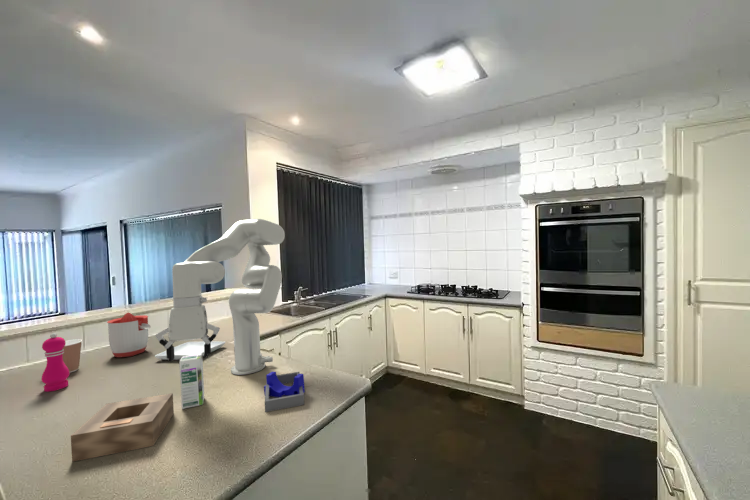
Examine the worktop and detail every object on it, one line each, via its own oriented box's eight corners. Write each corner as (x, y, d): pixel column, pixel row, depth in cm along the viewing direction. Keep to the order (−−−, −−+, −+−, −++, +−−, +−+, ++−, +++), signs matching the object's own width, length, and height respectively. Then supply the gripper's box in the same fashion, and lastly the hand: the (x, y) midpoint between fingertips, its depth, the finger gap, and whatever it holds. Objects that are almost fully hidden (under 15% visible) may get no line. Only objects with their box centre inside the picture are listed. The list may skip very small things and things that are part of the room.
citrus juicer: (137, 358, 145) (135, 315, 145) (99, 360, 145) (97, 316, 145) (160, 347, 161) (158, 308, 161) (127, 349, 161) (124, 309, 161)
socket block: (173, 413, 93) (172, 392, 93) (153, 445, 77) (152, 420, 77) (107, 425, 88) (106, 402, 88) (72, 461, 73) (70, 434, 73)
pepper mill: (38, 394, 111) (34, 337, 111) (47, 386, 117) (44, 332, 117) (65, 389, 114) (62, 333, 114) (73, 382, 121) (70, 329, 120)
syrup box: (181, 409, 95) (178, 361, 95) (184, 401, 100) (181, 355, 100) (202, 405, 97) (200, 357, 97) (204, 397, 102) (202, 352, 102)
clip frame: (299, 380, 112) (299, 371, 112) (304, 404, 94) (303, 394, 94) (267, 385, 109) (266, 376, 109) (265, 412, 91) (264, 401, 91)
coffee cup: (44, 374, 130) (42, 345, 130) (75, 365, 139) (74, 338, 139) (57, 377, 126) (56, 347, 126) (89, 368, 136) (87, 340, 135)
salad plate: (188, 347, 160) (187, 340, 160) (226, 347, 157) (226, 340, 157) (153, 363, 139) (152, 355, 139) (197, 363, 136) (196, 355, 136)
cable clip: (264, 395, 102) (263, 377, 101) (273, 389, 106) (272, 371, 106) (296, 399, 98) (295, 379, 98) (304, 392, 102) (303, 373, 102)
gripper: (220, 298, 104) (222, 351, 104) (159, 303, 99) (161, 358, 99) (216, 301, 97) (218, 358, 97) (150, 306, 92) (152, 366, 92)
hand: (189, 358), depth 98 cm, fingers open, 9 cm apart
